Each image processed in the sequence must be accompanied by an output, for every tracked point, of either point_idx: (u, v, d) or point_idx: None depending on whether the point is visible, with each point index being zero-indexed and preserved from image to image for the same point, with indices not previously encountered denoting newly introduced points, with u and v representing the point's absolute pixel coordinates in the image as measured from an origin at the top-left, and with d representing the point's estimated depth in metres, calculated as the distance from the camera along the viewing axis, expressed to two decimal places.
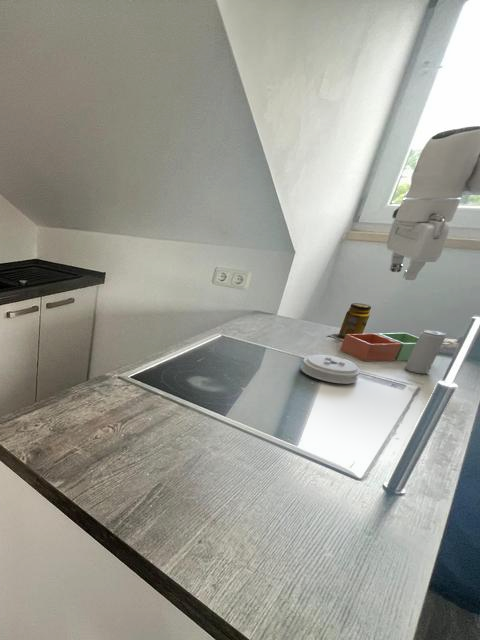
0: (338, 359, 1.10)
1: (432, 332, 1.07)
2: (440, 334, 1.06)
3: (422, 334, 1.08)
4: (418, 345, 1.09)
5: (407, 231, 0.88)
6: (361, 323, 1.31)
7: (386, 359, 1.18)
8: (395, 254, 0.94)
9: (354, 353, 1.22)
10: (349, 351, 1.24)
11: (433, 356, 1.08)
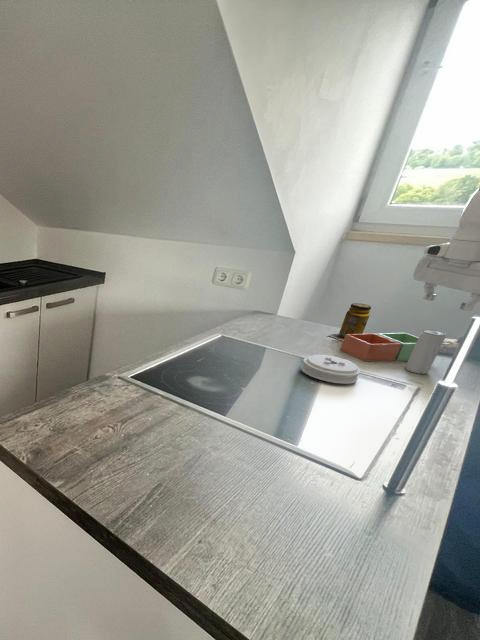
0: (338, 359, 1.10)
1: (432, 332, 1.07)
2: (440, 334, 1.06)
3: (422, 334, 1.08)
4: (418, 345, 1.09)
5: (453, 267, 1.01)
6: (361, 323, 1.31)
7: (386, 359, 1.18)
8: (430, 285, 1.07)
9: (354, 353, 1.22)
10: (349, 351, 1.24)
11: (433, 356, 1.08)
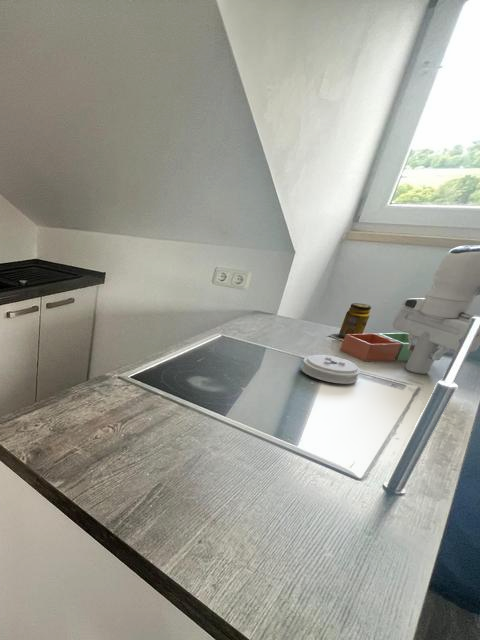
0: (338, 359, 1.10)
1: None
2: None
3: (422, 334, 1.08)
4: (418, 345, 1.09)
5: (428, 321, 1.07)
6: (361, 323, 1.31)
7: (386, 359, 1.18)
8: (413, 337, 1.11)
9: (354, 353, 1.22)
10: (349, 351, 1.24)
11: None
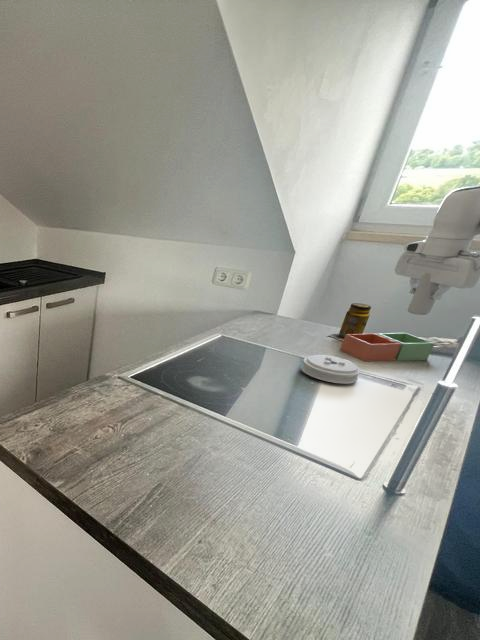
0: (338, 359, 1.10)
1: None
2: None
3: (423, 276, 1.13)
4: (420, 287, 1.14)
5: (429, 262, 1.12)
6: (361, 323, 1.31)
7: (386, 359, 1.18)
8: (415, 280, 1.16)
9: (354, 353, 1.22)
10: (349, 351, 1.24)
11: None
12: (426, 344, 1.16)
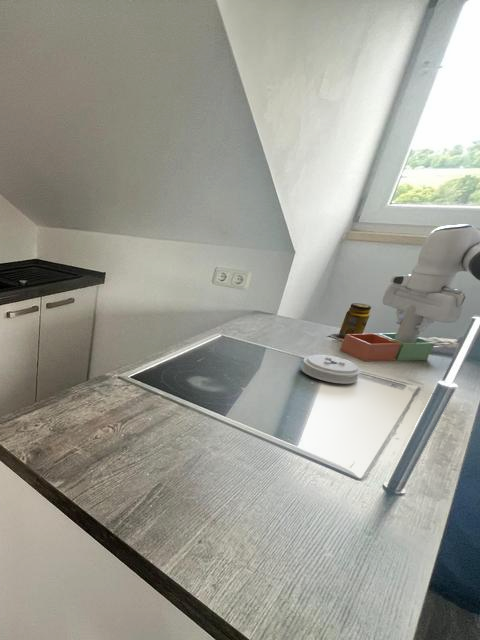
0: (338, 359, 1.10)
1: None
2: None
3: (409, 308, 1.17)
4: (405, 319, 1.18)
5: (414, 295, 1.16)
6: (361, 323, 1.31)
7: (386, 359, 1.18)
8: (401, 311, 1.21)
9: (354, 353, 1.22)
10: (349, 351, 1.24)
11: None
12: (426, 344, 1.16)
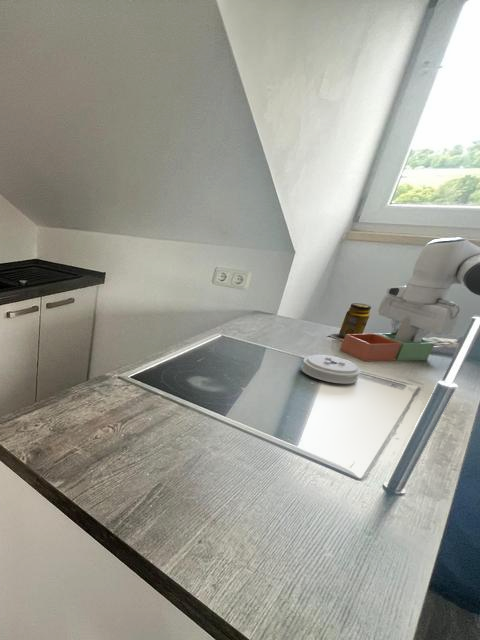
0: (338, 359, 1.10)
1: None
2: None
3: (404, 318, 1.19)
4: (401, 329, 1.20)
5: (410, 307, 1.17)
6: (361, 323, 1.31)
7: (386, 359, 1.18)
8: (396, 322, 1.22)
9: (354, 353, 1.22)
10: (349, 351, 1.24)
11: None
12: (426, 344, 1.16)
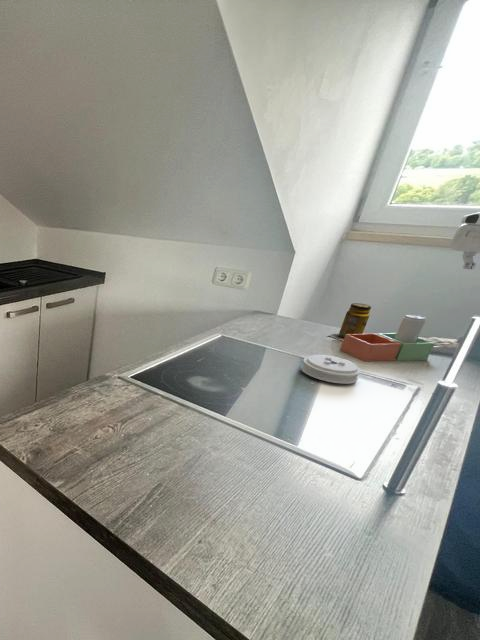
0: (338, 359, 1.10)
1: (413, 316, 1.18)
2: (420, 318, 1.16)
3: (404, 318, 1.19)
4: (401, 329, 1.20)
5: None
6: (361, 323, 1.31)
7: (386, 359, 1.18)
8: (469, 254, 1.08)
9: (354, 353, 1.22)
10: (349, 351, 1.24)
11: (414, 338, 1.18)
12: (426, 344, 1.16)
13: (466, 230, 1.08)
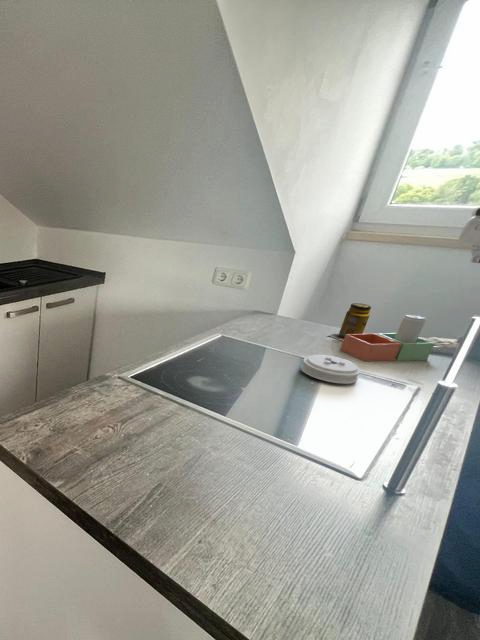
0: (338, 359, 1.10)
1: (413, 316, 1.18)
2: (420, 318, 1.16)
3: (404, 318, 1.19)
4: (401, 329, 1.20)
5: None
6: (361, 323, 1.31)
7: (386, 359, 1.18)
8: (477, 248, 1.07)
9: (354, 353, 1.22)
10: (349, 351, 1.24)
11: (414, 338, 1.18)
12: (426, 344, 1.16)
13: (476, 223, 1.06)
